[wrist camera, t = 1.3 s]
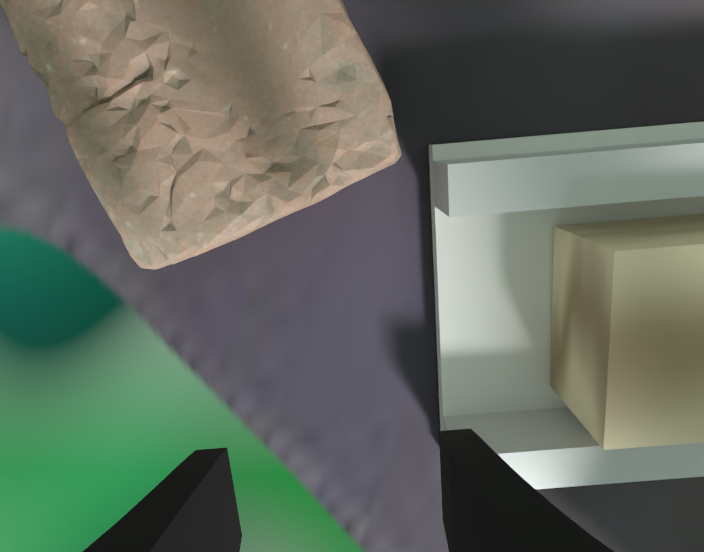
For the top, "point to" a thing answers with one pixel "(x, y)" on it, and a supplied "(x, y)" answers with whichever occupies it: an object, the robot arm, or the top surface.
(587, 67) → the top surface
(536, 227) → the chute
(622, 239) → the block
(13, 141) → the top surface
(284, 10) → the brick
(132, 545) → the robot arm
